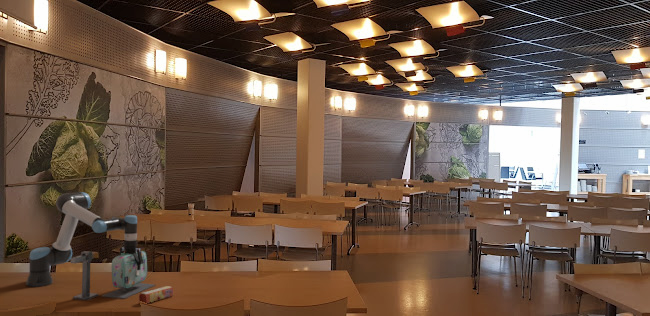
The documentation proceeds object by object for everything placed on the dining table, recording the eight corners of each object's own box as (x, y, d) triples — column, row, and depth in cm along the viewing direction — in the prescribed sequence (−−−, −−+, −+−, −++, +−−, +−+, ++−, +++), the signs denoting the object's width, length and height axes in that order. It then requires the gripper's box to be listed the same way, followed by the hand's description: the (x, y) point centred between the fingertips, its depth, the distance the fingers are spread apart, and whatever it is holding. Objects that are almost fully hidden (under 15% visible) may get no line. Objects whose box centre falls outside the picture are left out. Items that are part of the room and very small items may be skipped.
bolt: (68, 263, 280) (68, 257, 280) (90, 256, 298) (90, 251, 298) (77, 263, 279) (77, 258, 279) (98, 257, 296) (98, 252, 296)
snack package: (166, 295, 299) (166, 284, 299) (174, 296, 296) (174, 285, 296) (138, 303, 280) (138, 292, 280) (146, 305, 277) (146, 294, 277)
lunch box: (124, 291, 292) (124, 256, 292) (109, 290, 294) (109, 255, 294) (148, 280, 318) (149, 248, 318) (134, 279, 320) (135, 247, 320)
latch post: (72, 298, 287) (73, 252, 287) (84, 294, 296) (85, 249, 296) (86, 300, 284) (87, 254, 284) (98, 295, 294) (99, 250, 294)
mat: (101, 296, 292) (101, 295, 292) (134, 283, 323) (134, 282, 323) (124, 298, 289) (124, 297, 289) (155, 285, 320) (155, 284, 320)
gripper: (111, 239, 305) (110, 274, 305) (142, 241, 300) (142, 277, 300) (119, 237, 312) (118, 271, 312) (149, 239, 307) (149, 274, 307)
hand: (130, 274), depth 306 cm, fingers closed on lunch box, 10 cm apart
